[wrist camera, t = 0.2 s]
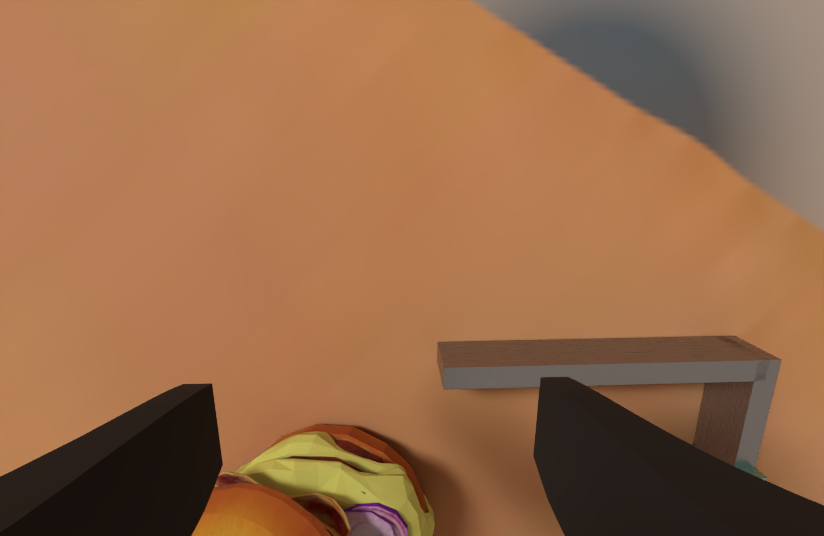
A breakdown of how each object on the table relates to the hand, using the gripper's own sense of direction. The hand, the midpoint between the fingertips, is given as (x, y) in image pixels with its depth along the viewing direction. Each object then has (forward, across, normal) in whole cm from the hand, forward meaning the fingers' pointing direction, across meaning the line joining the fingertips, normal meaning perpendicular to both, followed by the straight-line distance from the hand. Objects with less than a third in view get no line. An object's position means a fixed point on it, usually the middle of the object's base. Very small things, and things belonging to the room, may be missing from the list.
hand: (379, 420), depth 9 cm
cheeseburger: (+10, +4, +11) cm, 16 cm away
